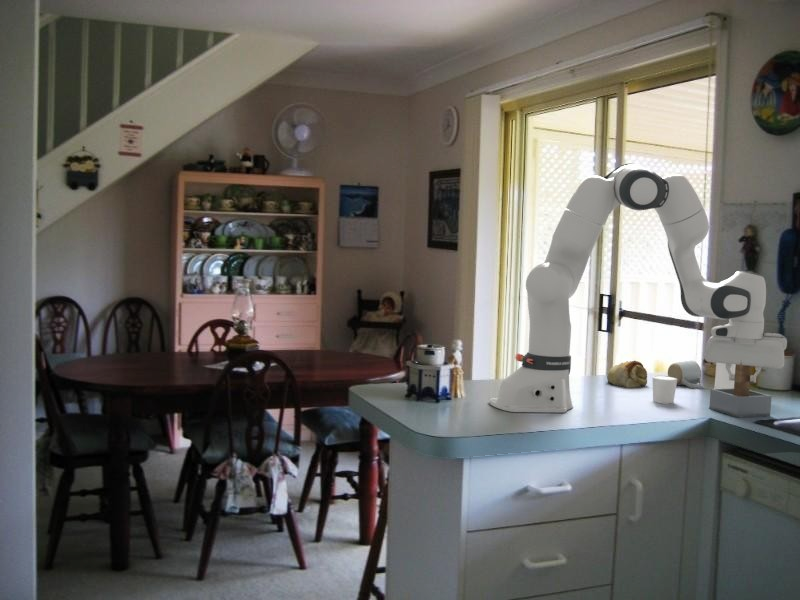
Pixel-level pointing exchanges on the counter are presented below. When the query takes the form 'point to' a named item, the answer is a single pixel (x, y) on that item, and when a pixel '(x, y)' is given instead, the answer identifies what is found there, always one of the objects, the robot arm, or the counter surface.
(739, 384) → the brown wooden block
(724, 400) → the grey storage tray
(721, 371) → the milk
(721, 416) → the counter surface
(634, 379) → the pastry
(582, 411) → the counter surface
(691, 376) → the ceramic mug
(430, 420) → the counter surface
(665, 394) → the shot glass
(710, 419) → the counter surface
